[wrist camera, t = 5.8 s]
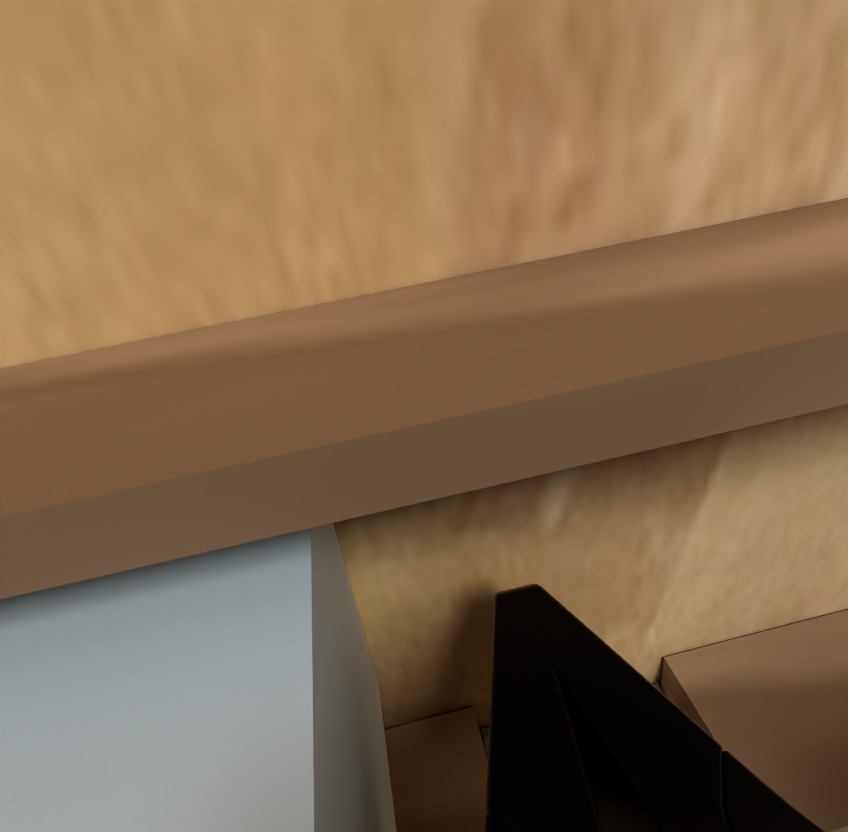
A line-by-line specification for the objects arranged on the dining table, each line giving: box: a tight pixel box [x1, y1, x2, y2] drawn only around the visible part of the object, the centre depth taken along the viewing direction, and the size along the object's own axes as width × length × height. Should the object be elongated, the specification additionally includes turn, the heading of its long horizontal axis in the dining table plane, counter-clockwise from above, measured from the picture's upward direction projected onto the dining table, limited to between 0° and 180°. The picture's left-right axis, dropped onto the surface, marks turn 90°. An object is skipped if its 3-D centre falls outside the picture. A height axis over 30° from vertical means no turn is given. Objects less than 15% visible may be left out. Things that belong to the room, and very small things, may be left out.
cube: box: [0, 523, 397, 832], centre depth 7 cm, size 6×6×6 cm
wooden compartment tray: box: [0, 198, 848, 832], centre depth 10 cm, size 16×33×4 cm, turn 99°
